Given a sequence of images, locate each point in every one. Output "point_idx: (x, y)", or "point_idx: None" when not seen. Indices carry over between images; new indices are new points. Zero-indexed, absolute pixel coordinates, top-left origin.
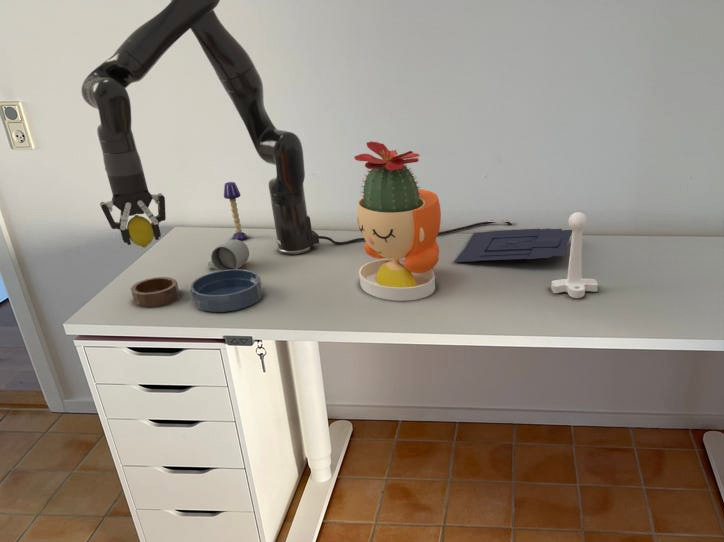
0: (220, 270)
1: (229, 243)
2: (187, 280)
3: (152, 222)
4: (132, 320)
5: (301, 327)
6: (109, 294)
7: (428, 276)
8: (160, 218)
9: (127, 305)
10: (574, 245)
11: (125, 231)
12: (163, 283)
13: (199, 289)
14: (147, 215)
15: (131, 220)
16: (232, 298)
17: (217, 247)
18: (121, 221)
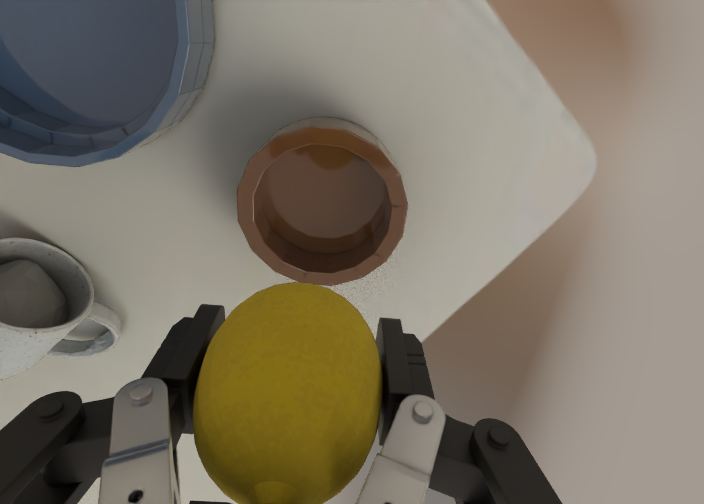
0: (83, 275)
1: None
2: (205, 278)
3: (167, 398)
4: (457, 49)
5: None
6: (438, 312)
7: None
8: (73, 415)
9: (424, 199)
10: None
11: (405, 386)
12: (283, 249)
13: (164, 92)
14: (162, 460)
15: (334, 464)
16: None
17: (12, 327)
18: (432, 466)
